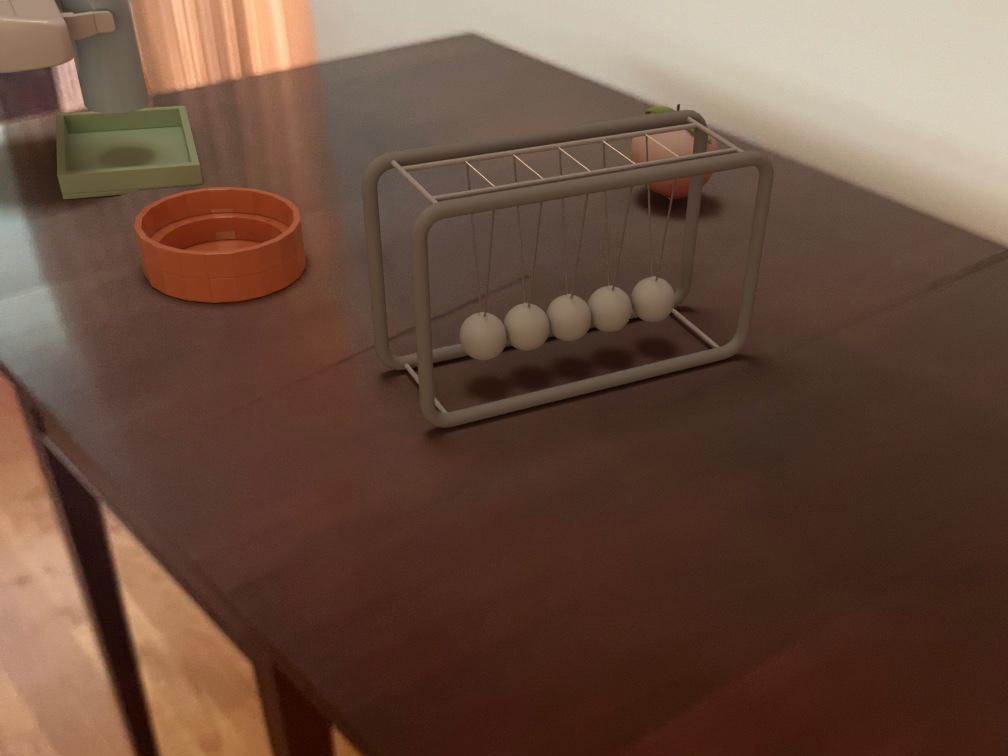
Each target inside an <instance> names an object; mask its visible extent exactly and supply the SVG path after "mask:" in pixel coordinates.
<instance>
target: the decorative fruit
mask: <svg viewBox="0 0 1008 756" xmlns="http://www.w3.org/2000/svg"><path fill="white" fill-rule="evenodd" d="M679 110H681V104H680V103H678V104H676V110H675V109H673V108H671V107H669V106H663V105H662V106H661V105H660V106H651V107H649V108H648V109H646V111H645V112H644V114H645V115H650V114H652V113H653V114H658V113H665V112H672V111H679ZM707 128H708V129H710V130H711V131H712V129H711V128H710V127H709V126H708V125H707ZM648 136H650V137H651V138H652V139H654V140H655V141H657V142H658V143H660V144H661V145H663V146H664V147H666V148H667V149H669V150H670V151H672V152H673V153H675V154H676V155H678V156H685V155H691V154H693V145H694V129H686V130H680V131H673V132H667V133H660V134H653V135H648ZM631 139H632V140H631V144H630V156H631V157H630V158H631V161H633V162H634V163H635V164H636V163H642V162H646V137H645V136H640V137H634V138H631ZM652 139H650V138H649V137H648V161H654V160H660V159H666V158H673V157H677V156H675V155H674V154H672V153H671V152H669V151H668V150H666V149H665V148H664V147H662V146H661V145H659V144H658V143H656V142H655V141H653V140H652ZM716 150H720V149H719V144H718V141H717V140H716V139H714V138H712V137H711V136H709V135H708V141H707V150H706V152H710V151H716ZM713 157H714V156H713ZM707 158H708V157H707ZM676 163H677V162H676ZM670 164H671V163H670ZM664 165H665V164H664ZM658 166H659V165H658ZM652 167H653V166H652ZM646 168H647V167H646ZM640 169H641V168H640ZM713 175H714V173H708V174H704V176H703V185H702V188H703V187H704V186H705V185H706V184H707V183H708V182H709V181H710V179H711V178H712V177H713ZM689 182H690V177H685V178H679V179H676V184H675V190H674V195H673V199H674V200H679V199H682V198H686V197H688V192H689ZM673 184H674V179H673V180H667V181H661V182H656V183H650V184H649V188H650V191H652V192H654V193H657V194H658V195H660V196H662V197H664V198H666V199H667V198H670V199H671V195H672V190H673ZM644 186H645V187H646V188H648V186H647V184H644Z"/></svg>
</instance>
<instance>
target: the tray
mask: <svg viewBox="0 0 1008 756" xmlns="http://www.w3.org/2000/svg"><path fill="white" fill-rule="evenodd" d="M55 135H56V136H55V138H56V141H55V142H56V173H57V174H56V176H57V180H58V181H57V182H58V184H59V188H60V192H61V195H62V199H63V200H74V199H86V198H87V199H89V198H99V197H101V198H102V197H112V196H124V195H127V194H130V193H134V192H137V191H139V190H146V189H160V188H161V189H162V188H171V187H184V186H185V187H186V186H196V185H203V184H204V180H203V174H202V169H201V164H200V160H199V156H198V151H197V147H196V144H195V139H194V136H193V131H192V128H191V123H190V120H189V115H188V110H187V107H186V105H171V106H170V105H169V106H157V107H156V106H155V107H154V106H153V107H144V108H142V109H140V110H137V111H133V112H128V113H119V114H108V113H99V112H94V111H91V110H89V111H77V112H76V111H73V112H57V113H55Z"/></svg>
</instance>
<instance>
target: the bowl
mask: <svg viewBox="0 0 1008 756" xmlns="http://www.w3.org/2000/svg"><path fill="white" fill-rule="evenodd" d="M300 211H301V210H300V208H298V207H297V206H296V205H295V204H294V203H293V202H292V201H291V200H290V199H288V198H285V197H283V196H281V195H279V194H277V193H274V192H270V191H266V190H261V189H258V188H250V187H249V188H248V187H238V186H217V187H203V188H197V189H190V190H185V191H179V192H176V193H174V194H170V195H167V196H163V197H161V198H159V199H157V200H155V201H154V202H152V203H150V204H148V205H145V207H143V209H142V210H141V211H140V212H139V213H138V214H137V215H136V216H135V218H134V225H133V230H134V235H135V238H136V239H135V240H136V244H137V248H138V253H139V257H140V261H141V266H142V270H143V274H144V277H145V278H146V280H147V281H148V283H149V284H150V286H151V287H152V288H153V289H155V290H157V291H159V292H160V293H162V294H164V295H166V296H169V297H173V298H175V299H181V300H183V301H186V302H187V301H188V302H201V303H211V304H216V303H217V304H218V303H219V304H221V303H234V302H242V301H243V302H244V301H249V300H253V299H257V298H262V297H265V296H268V295H270V294H274V293H275V292H279V291H281V290H283V289H285V288H287V287H289V286H290V285H291V284H293V283H294V282H295V281H297V280H298V279H300V278H301V276H302V274H303V272H304V271H305V270H306V268H307V260H306V253H305V244H304V237H303V229H302V220H301V212H300Z"/></svg>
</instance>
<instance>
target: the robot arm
mask: <svg viewBox="0 0 1008 756" xmlns="http://www.w3.org/2000/svg"><path fill="white" fill-rule="evenodd" d="M61 11H63V10H62V6H61V1H60V0H0V74H9V73H11V74H12V73H18V72H26V71H33V70H41V69H46V68H54V67H58V66H61V65H64V64H66V63H68V62H71V61H73V60H74V55H73V50H72V45H71V40H81V39H84V38H87V37H90V36H92V35H95V34H97V33H108V32H113V31H115V23H114V18H113V15H112V14H111V12H110V11H109V10H108V9H106V8H103V9H91V12H84V13H77V14H74V13H73V12H67V13H63V12H61Z"/></svg>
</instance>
